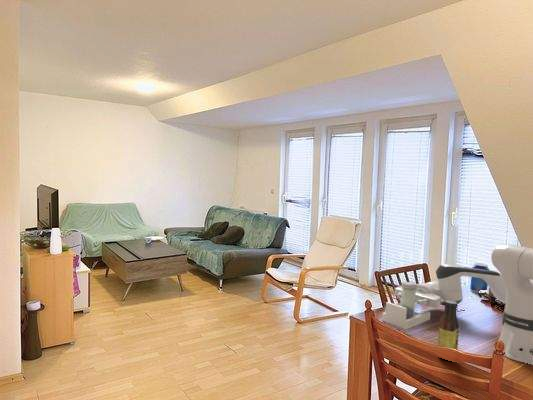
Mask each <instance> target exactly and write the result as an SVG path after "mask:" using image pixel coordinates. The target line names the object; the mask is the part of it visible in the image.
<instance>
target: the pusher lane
mask: <svg viewBox="0 0 533 400" xmlns="http://www.w3.org/2000/svg"><path fill="white" fill-rule="evenodd" d="M396 304H397V303H392V302H389V301H386V302H385V311H384V312H382V317H381V318H382V319H381V321H382V322H385V323H388V324H390V325H393V326H395V327H398V328H401V329H403V330H406V331H407V330H409V329H411V328H414V327H416V326H419V325H420V324H423V323H425V322H427V321H430V319H431V311H429V310H427V311H424V312H422V313H420V314H417V313H414V317H412V318H410V319H407V320H406V314H407V308H405V307H402V306H399V305H400V304H398V305H396Z"/></svg>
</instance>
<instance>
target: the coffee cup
mask: <svg viewBox="0 0 533 400" xmlns="http://www.w3.org/2000/svg"><path fill="white" fill-rule="evenodd" d="M489 297H490V298H491V299H489ZM495 299H497V298H496V297H495V296H494V295H493V293H492V292H491V290H490V288H489V287H488V302H489V303H491V302H492V303H493V304H495V303H494V302H495Z"/></svg>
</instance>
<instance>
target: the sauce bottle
mask: <svg viewBox="0 0 533 400" xmlns="http://www.w3.org/2000/svg"><path fill="white" fill-rule="evenodd" d="M444 305H445V306H444ZM444 305H443V306H444V311H443V313H444V314H443V315H442V316H441V317H440V319H439V326H438V338H437V339H438V340H437V346H438V345H439V346H443V347H448V348H452V349H456V350H457V351H458V348H459V347H458V346H459V336H460V335H459V333H460V324H459V320H458V317H457V308H458V304H457V302H455V301H450V300H446V301H445V303H444Z"/></svg>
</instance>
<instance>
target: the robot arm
mask: <svg viewBox="0 0 533 400" xmlns="http://www.w3.org/2000/svg"><path fill="white" fill-rule="evenodd" d="M491 263H492V265H493V266H494V267H495V268H496V270H497V271H498V272H497V271H495V270H490V269H489V270H484V269H477V268H472V267H467V266H457V265H455V264H451V263H450V264H449V263H446V264H445V263H443V264H440V265H439V266H438V267H437V269H436V270H435V273H436V278H437V279H436V280H433V281H428V282H425V283H416V284H417V289H416V296H415V303H416V304H417V305H418V306H419V305H420V306H422V305H424V306H428V307H431V308H438V307H439V306H444V307H445V305H444V303H445V301H446V300H450V301H455V302H457V305H458V304H461V302H463V299H464V298H463V297H464V296H463V289H462V282H461V278H462V277H470V278H471V277H476V278H481V279H483V280H484V281H485V282H486V283H487V285H488V289H489V288H490V290H491V292H492V293H493V295H494V296H495V297H496V298H497V299H498V300H499V301H500V302H502V303H503V304H505V307H504V309H505V310H503V312H502V317H501V318H502V319H501V323H502V328H501V333H500V336H499V337H498V341H499V340H501V341H503V343H504V344H505V350H504V352H505V354H504V355H505V356H506V357H507V358H508V359H510V360H514V361H517V362H520V363H523V362H524V364H527V363H528V364H527V365H530V364H531V366H533V248H531V247H526V246H523V245H522V246H521V245H518V244H499V245H497V246H495V248H494V249H493V250H492V252H491ZM394 296H395V297H397V299H400V300H401V299H402V285H399V286H396V287H395V288H394Z"/></svg>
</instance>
